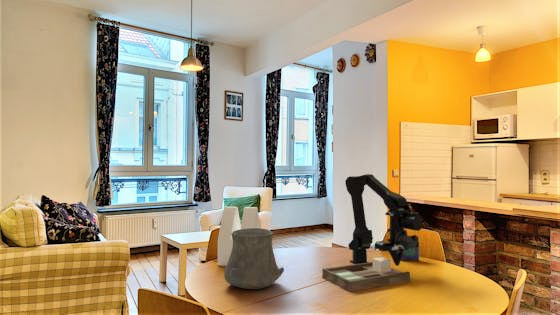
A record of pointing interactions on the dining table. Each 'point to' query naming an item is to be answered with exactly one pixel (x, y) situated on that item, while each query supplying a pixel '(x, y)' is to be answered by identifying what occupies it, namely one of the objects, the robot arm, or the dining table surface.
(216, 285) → the dining table surface
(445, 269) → the dining table surface
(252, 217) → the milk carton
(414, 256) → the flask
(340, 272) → the box
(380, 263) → the block
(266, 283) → the vessel
